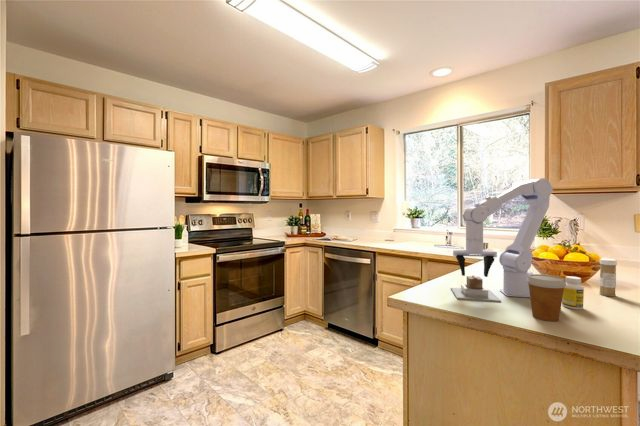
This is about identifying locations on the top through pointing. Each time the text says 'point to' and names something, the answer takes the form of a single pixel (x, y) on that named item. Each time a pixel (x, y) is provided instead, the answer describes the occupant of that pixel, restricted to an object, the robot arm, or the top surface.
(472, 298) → the socket plate
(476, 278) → the keyed block
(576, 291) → the supplement bottle
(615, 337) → the top surface
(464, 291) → the collar
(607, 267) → the sprinkles bottle
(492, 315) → the top surface
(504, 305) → the top surface
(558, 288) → the disposable coffee cup
